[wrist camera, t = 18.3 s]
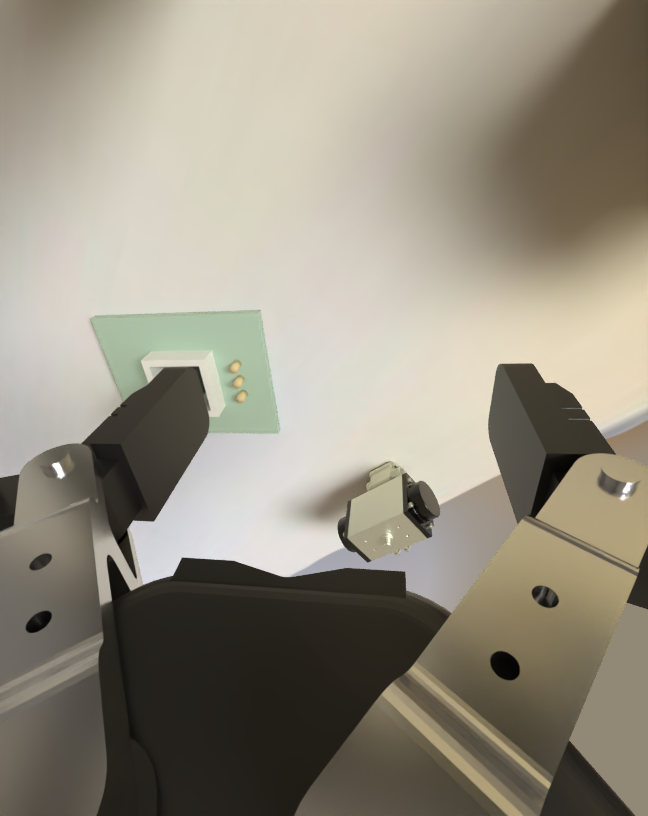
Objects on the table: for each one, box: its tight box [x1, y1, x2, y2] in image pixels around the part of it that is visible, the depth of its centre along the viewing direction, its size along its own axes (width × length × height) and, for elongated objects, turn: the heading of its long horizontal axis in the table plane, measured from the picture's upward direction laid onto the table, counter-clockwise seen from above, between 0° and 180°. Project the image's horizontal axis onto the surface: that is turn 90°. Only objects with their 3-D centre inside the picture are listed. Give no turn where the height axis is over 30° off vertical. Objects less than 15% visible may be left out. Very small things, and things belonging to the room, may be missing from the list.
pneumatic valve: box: [338, 462, 440, 562], centre depth 51 cm, size 6×12×12 cm, turn 130°
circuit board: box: [91, 310, 280, 433], centre depth 50 cm, size 20×16×4 cm
